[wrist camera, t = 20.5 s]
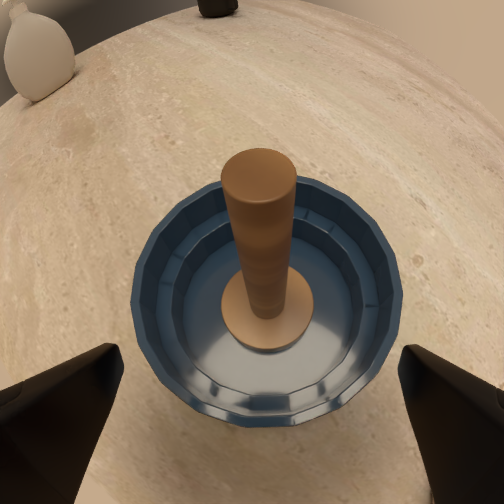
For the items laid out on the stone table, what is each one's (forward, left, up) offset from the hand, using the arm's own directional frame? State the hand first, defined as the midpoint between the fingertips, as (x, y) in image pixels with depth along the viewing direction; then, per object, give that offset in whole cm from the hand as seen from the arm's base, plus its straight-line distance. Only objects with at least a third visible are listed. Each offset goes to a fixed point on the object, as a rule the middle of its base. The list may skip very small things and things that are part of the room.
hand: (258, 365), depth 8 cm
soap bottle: (+16, +64, -12) cm, 67 cm away
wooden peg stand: (+4, +3, -11) cm, 12 cm away
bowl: (+4, +3, -12) cm, 13 cm away
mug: (+55, +49, -12) cm, 75 cm away
